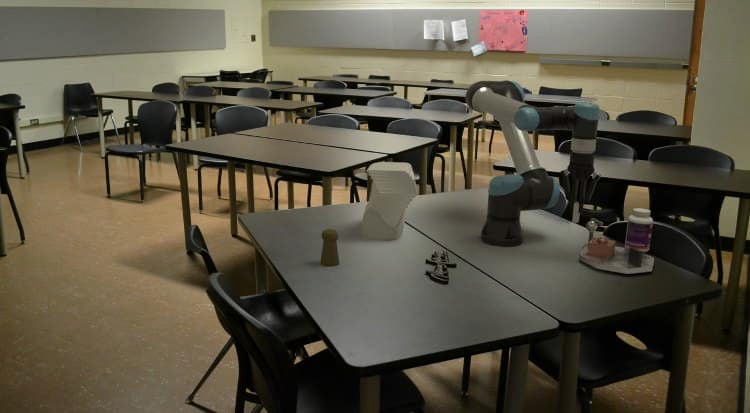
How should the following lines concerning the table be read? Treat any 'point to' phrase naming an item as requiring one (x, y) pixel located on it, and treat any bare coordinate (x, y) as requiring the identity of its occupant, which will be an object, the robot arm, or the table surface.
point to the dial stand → (592, 229)
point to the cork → (329, 248)
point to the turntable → (620, 260)
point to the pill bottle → (639, 230)
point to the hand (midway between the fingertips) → (575, 221)
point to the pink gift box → (601, 247)
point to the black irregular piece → (439, 267)
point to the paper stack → (388, 200)
